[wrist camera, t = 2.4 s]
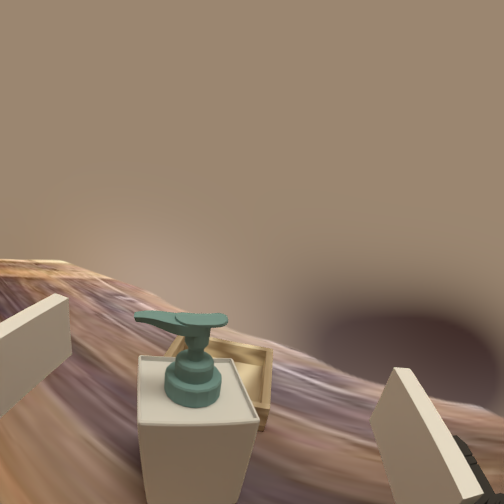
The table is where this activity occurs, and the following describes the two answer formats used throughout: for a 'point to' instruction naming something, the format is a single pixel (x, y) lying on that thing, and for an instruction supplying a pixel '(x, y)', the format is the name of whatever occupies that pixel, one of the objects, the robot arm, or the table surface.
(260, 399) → the caddy
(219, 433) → the soap bottle
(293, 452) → the table surface
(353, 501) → the table surface
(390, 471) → the robot arm
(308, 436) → the table surface
